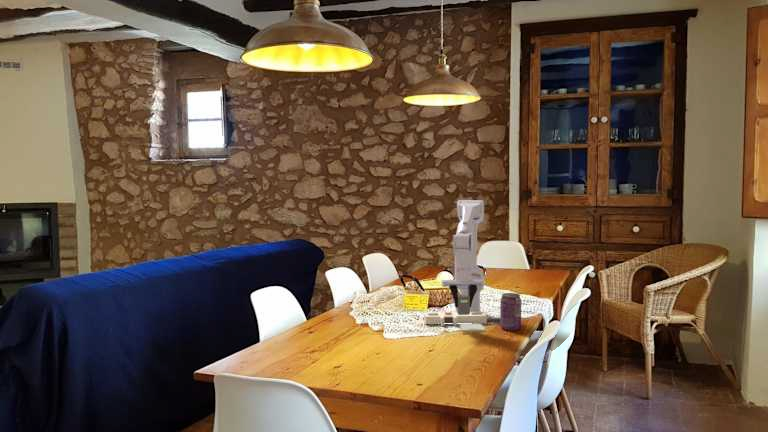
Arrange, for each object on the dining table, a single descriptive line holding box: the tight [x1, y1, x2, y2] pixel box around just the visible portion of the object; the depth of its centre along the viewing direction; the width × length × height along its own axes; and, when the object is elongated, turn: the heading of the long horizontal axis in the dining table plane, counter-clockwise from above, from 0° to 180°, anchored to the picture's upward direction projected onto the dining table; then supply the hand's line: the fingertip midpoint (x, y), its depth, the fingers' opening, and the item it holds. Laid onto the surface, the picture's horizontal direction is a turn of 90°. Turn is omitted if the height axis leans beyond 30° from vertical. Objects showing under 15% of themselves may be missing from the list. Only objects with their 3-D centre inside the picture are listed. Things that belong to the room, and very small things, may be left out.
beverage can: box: [499, 292, 522, 331], centre depth 212 cm, size 7×7×12 cm
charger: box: [455, 293, 470, 314], centre depth 211 cm, size 8×4×6 cm, turn 2°
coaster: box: [458, 324, 486, 333], centre depth 213 cm, size 8×8×1 cm
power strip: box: [423, 311, 500, 326], centre depth 220 cm, size 8×28×4 cm, turn 93°
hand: (462, 306), depth 210 cm, fingers closed on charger, 4 cm apart
